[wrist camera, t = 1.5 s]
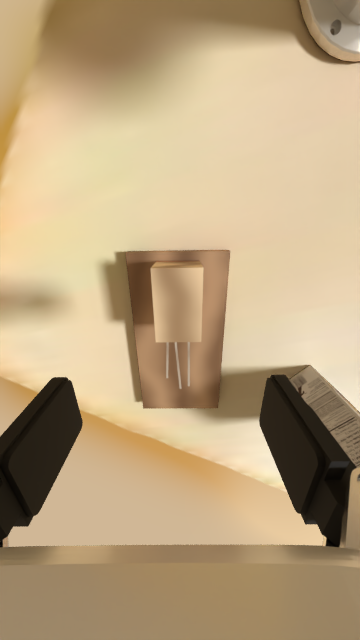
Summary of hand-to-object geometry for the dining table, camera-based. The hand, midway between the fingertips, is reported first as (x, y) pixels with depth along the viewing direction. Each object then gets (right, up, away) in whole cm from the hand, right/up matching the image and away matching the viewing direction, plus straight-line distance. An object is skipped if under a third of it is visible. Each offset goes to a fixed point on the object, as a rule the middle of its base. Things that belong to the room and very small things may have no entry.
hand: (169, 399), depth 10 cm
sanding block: (0, +7, +16) cm, 17 cm away
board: (0, +1, +20) cm, 20 cm away
